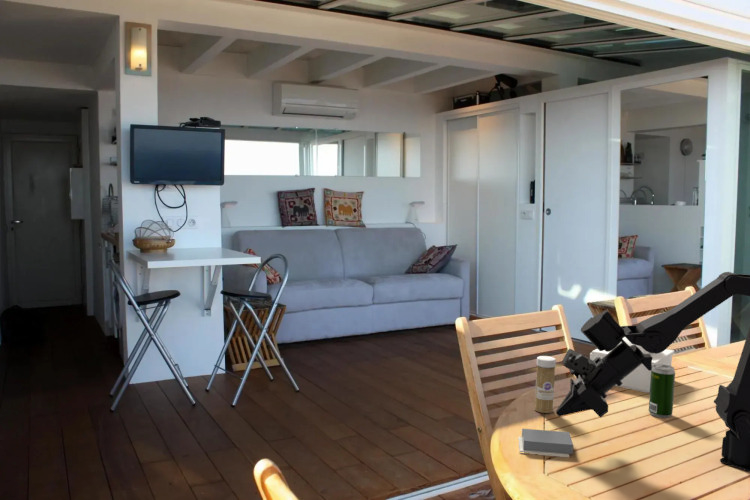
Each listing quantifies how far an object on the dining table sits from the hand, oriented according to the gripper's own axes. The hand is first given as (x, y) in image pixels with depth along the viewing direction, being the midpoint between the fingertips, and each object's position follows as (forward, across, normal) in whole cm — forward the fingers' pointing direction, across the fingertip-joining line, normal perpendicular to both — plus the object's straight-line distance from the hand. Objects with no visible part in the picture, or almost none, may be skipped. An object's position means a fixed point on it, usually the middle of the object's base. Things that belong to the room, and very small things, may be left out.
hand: (557, 414), depth 144 cm
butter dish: (-13, -56, +24) cm, 62 cm away
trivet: (+7, 0, +4) cm, 8 cm away
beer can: (-14, -27, +25) cm, 39 cm away
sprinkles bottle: (+6, -24, +5) cm, 25 cm away
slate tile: (+2, 0, +6) cm, 7 cm away
